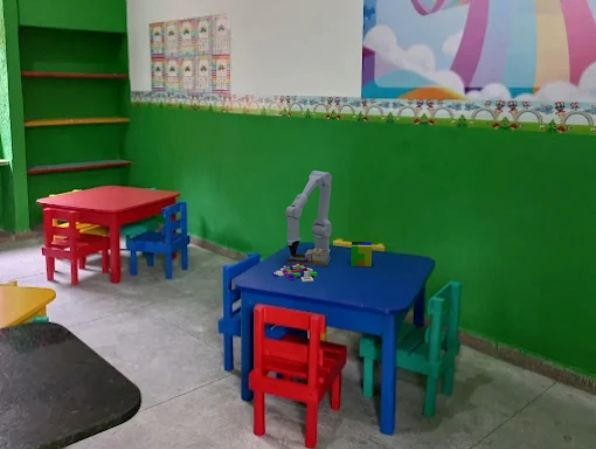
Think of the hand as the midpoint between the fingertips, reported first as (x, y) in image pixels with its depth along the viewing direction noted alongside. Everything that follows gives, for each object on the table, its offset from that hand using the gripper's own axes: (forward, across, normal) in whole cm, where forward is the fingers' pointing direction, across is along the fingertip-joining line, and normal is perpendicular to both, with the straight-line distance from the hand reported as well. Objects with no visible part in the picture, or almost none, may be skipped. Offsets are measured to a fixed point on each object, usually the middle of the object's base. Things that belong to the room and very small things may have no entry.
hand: (293, 255), depth 315 cm
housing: (+1, 0, -12) cm, 13 cm away
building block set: (+4, -20, -6) cm, 21 cm away
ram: (+1, 0, -8) cm, 9 cm away
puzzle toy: (+3, +5, -34) cm, 35 cm away
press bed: (+3, 0, -8) cm, 9 cm away
